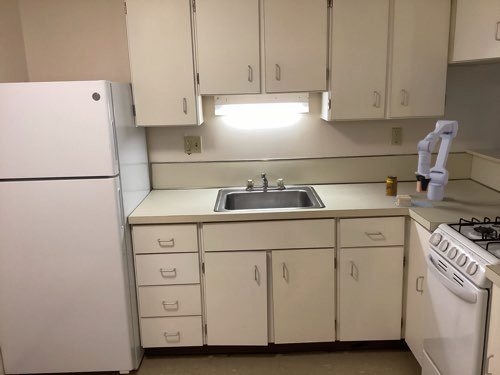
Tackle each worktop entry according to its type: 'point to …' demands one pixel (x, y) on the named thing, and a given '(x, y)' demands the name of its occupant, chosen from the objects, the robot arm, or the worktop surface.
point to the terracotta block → (420, 188)
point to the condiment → (391, 186)
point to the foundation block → (403, 200)
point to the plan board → (416, 204)
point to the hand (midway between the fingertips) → (422, 189)
